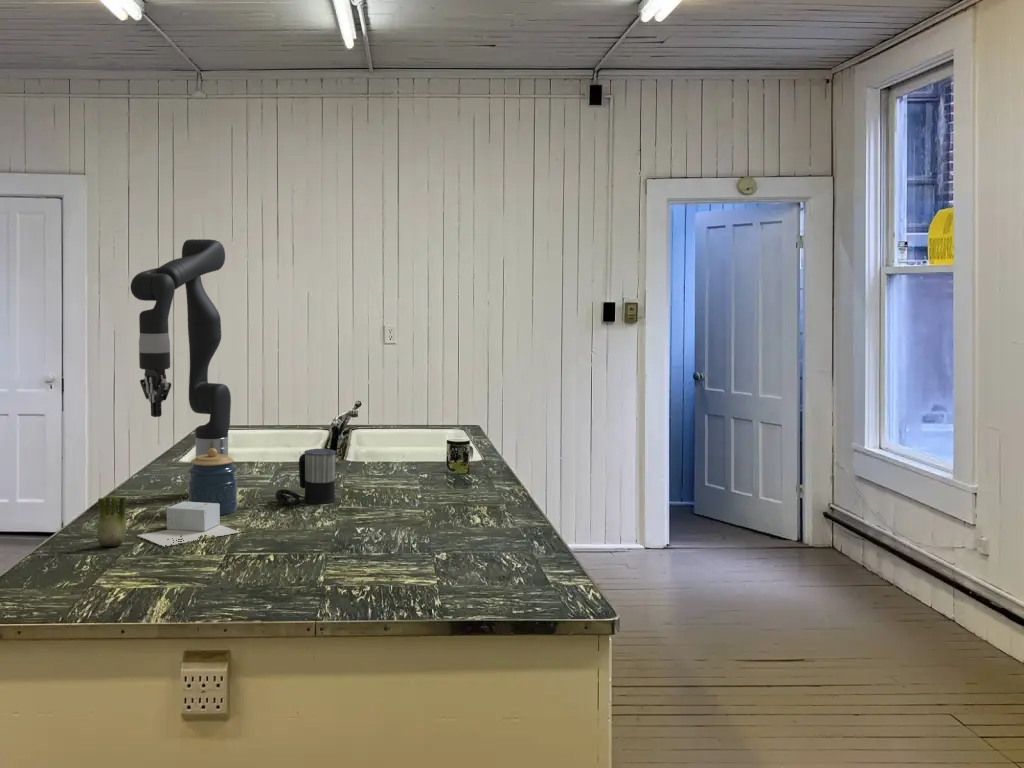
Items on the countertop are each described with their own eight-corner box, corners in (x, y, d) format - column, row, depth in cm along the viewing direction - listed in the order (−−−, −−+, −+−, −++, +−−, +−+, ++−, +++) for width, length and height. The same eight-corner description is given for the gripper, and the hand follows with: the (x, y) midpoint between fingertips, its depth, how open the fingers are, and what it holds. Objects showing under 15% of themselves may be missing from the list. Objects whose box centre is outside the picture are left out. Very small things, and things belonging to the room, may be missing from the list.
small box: (166, 529, 233) (204, 532, 231) (165, 507, 233) (203, 510, 231) (183, 522, 241) (220, 524, 239) (183, 500, 241) (220, 503, 239)
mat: (211, 523, 242) (211, 521, 242) (240, 533, 232) (240, 531, 232) (137, 536, 227) (137, 535, 227) (164, 548, 218) (164, 546, 218)
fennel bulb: (128, 543, 221) (127, 494, 220) (120, 549, 216) (119, 498, 215) (103, 543, 221) (102, 493, 220) (94, 548, 216) (93, 498, 215)
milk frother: (342, 499, 273) (342, 450, 271) (308, 510, 259) (308, 458, 257) (303, 494, 279) (303, 445, 278) (268, 504, 265) (268, 453, 263)
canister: (191, 518, 246) (191, 453, 245) (184, 508, 258) (183, 445, 256) (241, 514, 252) (241, 450, 251) (232, 504, 264) (232, 443, 262)
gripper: (180, 351, 239) (182, 417, 241) (156, 348, 248) (157, 412, 250) (152, 352, 233) (154, 420, 235) (128, 349, 242) (130, 415, 244)
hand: (156, 416), depth 242 cm, fingers closed
